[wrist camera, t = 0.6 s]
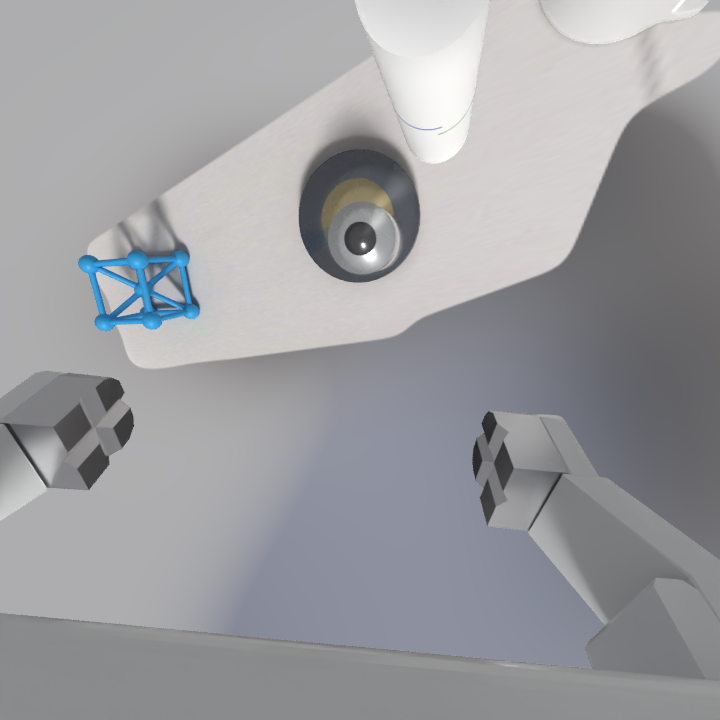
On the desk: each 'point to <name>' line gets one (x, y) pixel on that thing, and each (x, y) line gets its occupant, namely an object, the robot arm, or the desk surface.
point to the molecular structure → (139, 289)
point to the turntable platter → (355, 184)
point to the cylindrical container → (428, 66)
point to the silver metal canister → (365, 238)
